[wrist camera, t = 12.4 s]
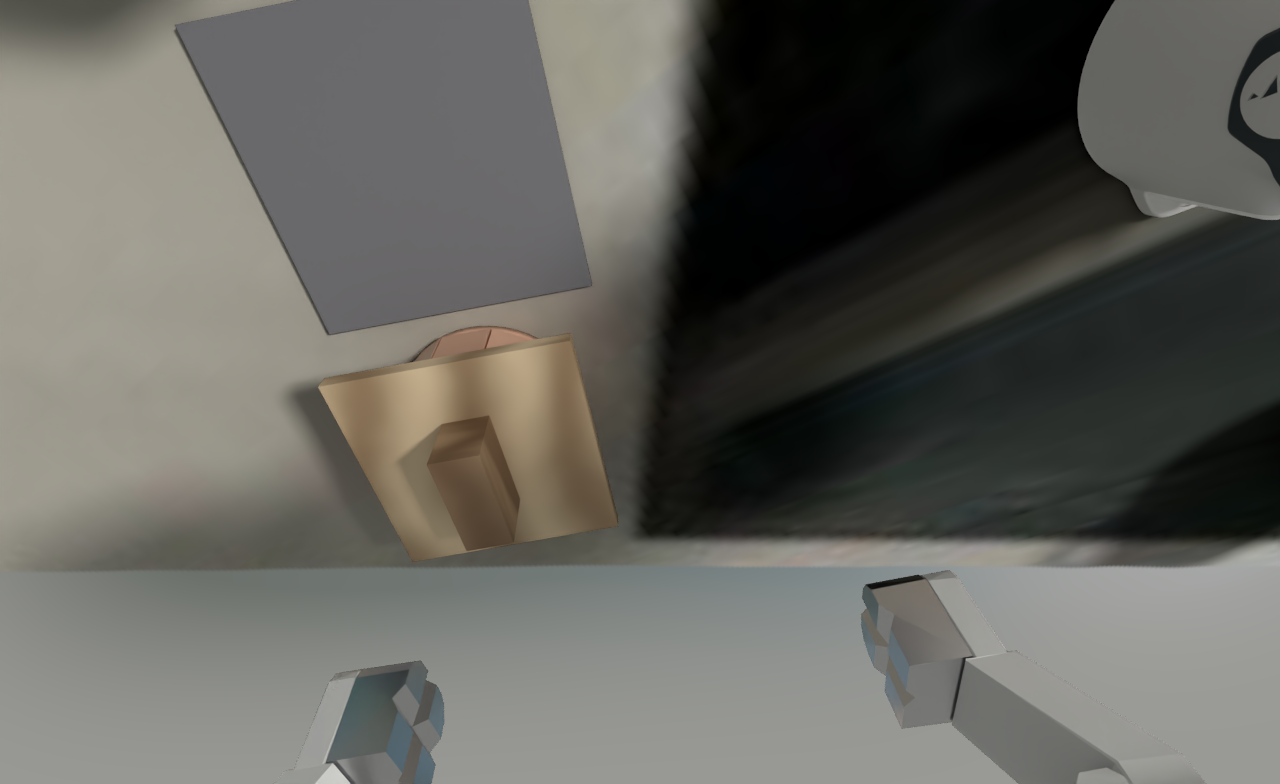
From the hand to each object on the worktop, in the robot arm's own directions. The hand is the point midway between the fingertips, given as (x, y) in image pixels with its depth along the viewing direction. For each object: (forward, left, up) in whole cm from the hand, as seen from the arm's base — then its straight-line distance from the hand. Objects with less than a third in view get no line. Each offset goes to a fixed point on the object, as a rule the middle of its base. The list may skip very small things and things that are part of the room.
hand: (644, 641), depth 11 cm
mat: (+11, -4, -31) cm, 33 cm away
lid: (+11, +13, -25) cm, 30 cm away
